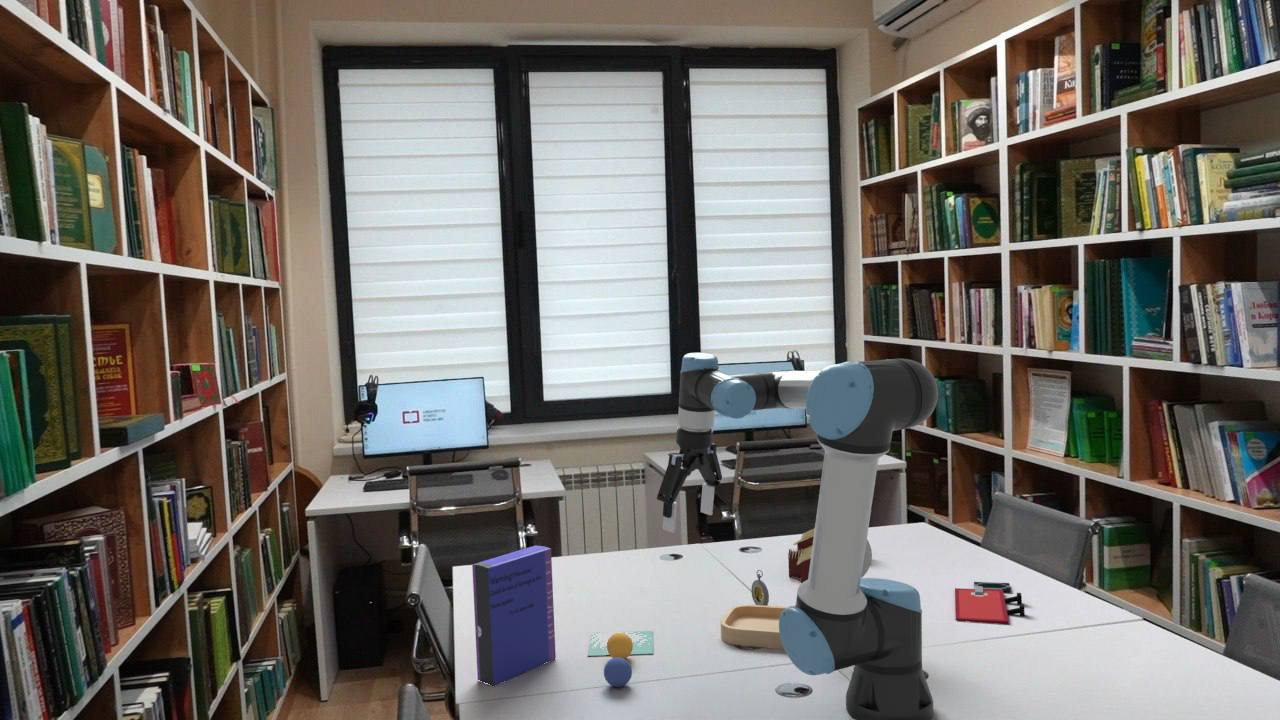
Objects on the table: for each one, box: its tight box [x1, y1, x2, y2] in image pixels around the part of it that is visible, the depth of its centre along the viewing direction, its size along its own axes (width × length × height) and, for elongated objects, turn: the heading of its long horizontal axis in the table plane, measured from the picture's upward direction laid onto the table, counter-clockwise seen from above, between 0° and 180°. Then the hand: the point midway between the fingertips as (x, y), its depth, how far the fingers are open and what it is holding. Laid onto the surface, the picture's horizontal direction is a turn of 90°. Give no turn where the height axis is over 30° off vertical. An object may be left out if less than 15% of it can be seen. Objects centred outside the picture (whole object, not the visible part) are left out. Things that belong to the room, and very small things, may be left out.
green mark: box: [587, 630, 654, 657], centre depth 203 cm, size 14×14×1 cm
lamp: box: [720, 539, 873, 650], centre depth 203 cm, size 33×17×25 cm, turn 72°
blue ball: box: [603, 657, 633, 688], centre depth 180 cm, size 6×6×6 cm
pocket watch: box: [751, 569, 770, 606], centre depth 220 cm, size 8×8×10 cm
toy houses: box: [787, 527, 815, 584], centre depth 249 cm, size 45×20×10 cm, turn 165°
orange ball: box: [607, 633, 633, 660], centre depth 194 cm, size 6×6×6 cm
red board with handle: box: [954, 581, 1026, 625], centre depth 222 cm, size 30×3×15 cm
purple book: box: [471, 545, 557, 687], centre depth 190 cm, size 17×5×24 cm, turn 141°
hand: (688, 521), depth 197 cm, fingers open, 13 cm apart
